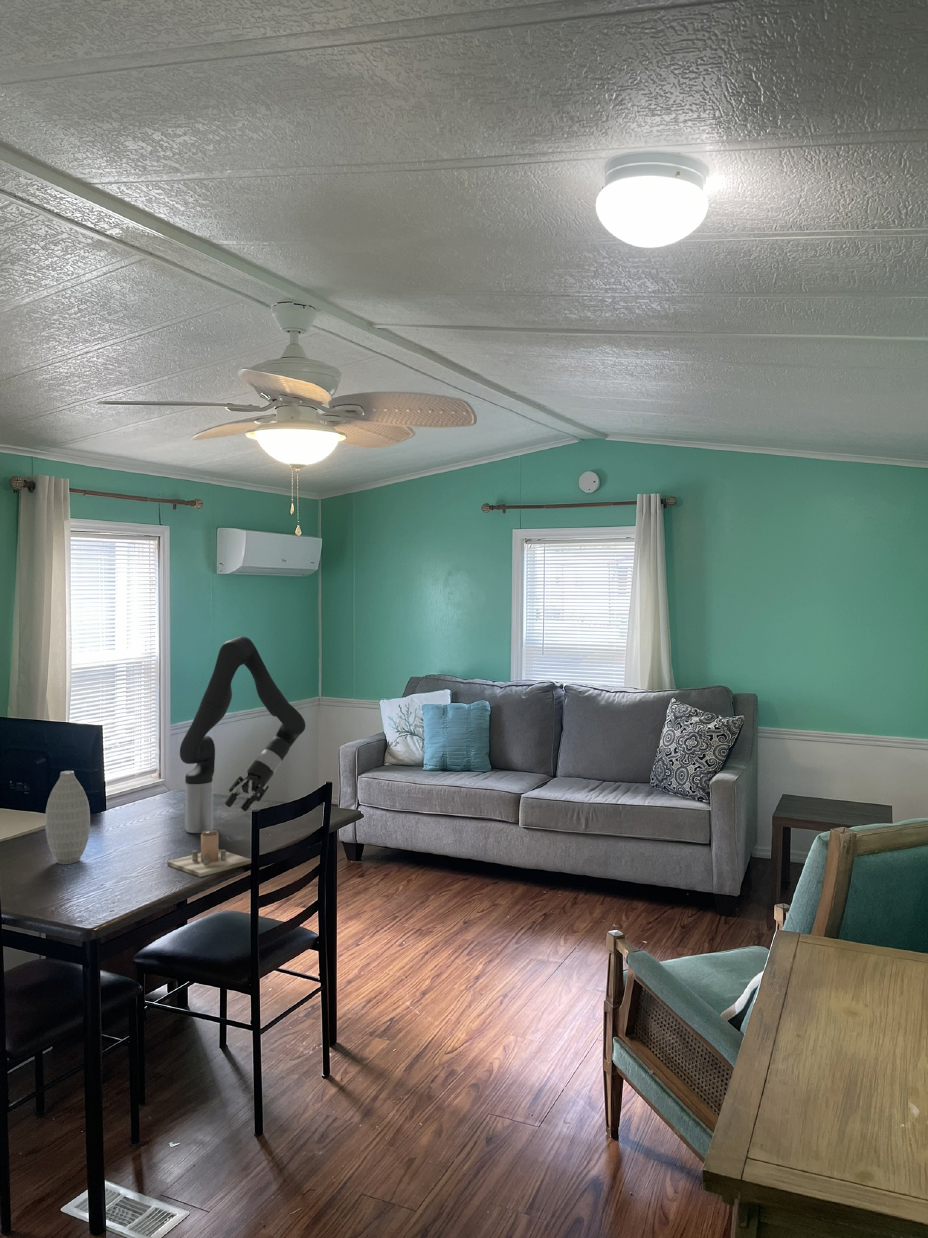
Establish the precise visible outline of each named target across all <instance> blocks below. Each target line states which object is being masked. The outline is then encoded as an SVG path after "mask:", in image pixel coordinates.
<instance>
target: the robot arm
mask: <svg viewBox="0 0 928 1238" xmlns="http://www.w3.org/2000/svg"><path fill="white" fill-rule="evenodd" d="M240 666H245V667H246V668H247V669H248V671H249V672H250V674H251V676H252V678H253V681H254V685H255V688H256V693H257V695H258V698H259V699H260V702H261V703H262V704H263V705H264V707H265V709H266V710H267V711H268V713H269V714H270V715H271V716H272V717H276V718H277V720H279V721H280V722H281V724H280V726H279V728H278V729H277V731H276V732H275V734H274V736H273V737H272V738H271V739H270V741H269V742H268V743H267V745H266V746H265V747H264V749H263V750H262V751H261V752H260V753H259V754H258V755H257V757H256V758H255V760H254V761H253V762H252V764H251V765H250V767H249V768H248V769H247V771H246V773H247V776H246V777H245V778H243V777H242V776H238V777H237V779H236V780H235V781H234V783H233V784H232V785H231V787H230V788H228V792H230V795H229V796H228V798H227V799H226V801H225V802H224V804H225V805H226V807H228V808H231V807H232V806H233V804H234V803H235V801H236V800H237V798H239V797H240V796H242V795H243V796H244V795H245V794H248V797H246V799H245V800H244V802H243V803H242V805H241V806H240V809H241V810H242V812H247V811H248V810H249V809H250V807H251V806H252V805H253V803H255V802H260V801H261V799H262V798H263V797H264V795H265V794H266V792H267V790H268V789H269V785H268V783H269V781H270V780H271V778H272V777H273V776H274V774H275V773H276V771H277V770H278V768H279V767H280V765H281V764H282V762H283V760H284V759H285V757H286V755H287V754H288V753H289V751H290V749H291V747H292V745H293V744H294V742H296V740H297V739H298V738H299V737H300V735H302V733H304V732H305V730H306V726H307V725H306V721H305V719H304V717H303V715H302V714H301V713H300V712H299V710H297V709H296V708H295V707H294V706H293V705H292V704H290V703H289V702H288V701H289V700H287V698H286V697H285V696H284V694H283V693H282V692H281V690H280V689H279V687H278V686H277V685H276V683H275V681H274V680H273V678H272V676H271V674H270V673H269V671H268V668H267V666H266V665H265V663H264V661H263V658H262V657H261V655H260V653H259V651H258V649H257V647H256V645H255V644H254V642H253V641H252V640H251V639H250V638H249V637H247V636H243V635H242V636H238V637H234V638H232V639H229V640H227V641H225V642H224V643H223V644H222V645H221V647H220V649H219V650H218V655H217V657H216V662H215V665H214V669H213V671H212V674H211V677H210V679H209V682H208V684H207V686H206V689H205V691H204V694H203V696H202V698H201V700H200V703H199V707H198V709H197V712H196V714H195V716H194V719H193V720H192V722H191V724H190V727H189V728H188V730H187V732H186V734H185V736H184V738H183V739H182V741H181V744H180V745H179V746H180V747H179V756H180V760H181V761H182V763H184V764H188V765H193V764H196V765H195V767H193V769H192V770H190V771H189V772H187V773H186V775H185V779H184V781H185V782H184V783H185V803H184V830H185V831H186V832H187V833H191V834H202V832H203V831H205V830H214V803H213V802H214V794H213V792H214V790H213V785H214V784H213V783H214V782H213V780H214V779H213V777H214V774H215V766H216V765H215V764H216V763H215V762H216V746H215V742H214V740H213V738H212V737H211V736H210V735H207V734H208V732H210V731H211V730H212V729H213V728H215V727H216V725H217V724H219V722H220V721H221V720H222V719H223V718H224V717H225V715H226V713H228V712H227V711H228V709H229V707H230V704H231V702H232V698H233V692H232V691H233V690H232V681H233V679H234V676H235V675H236V672H237V671H238V668H239V667H240Z"/></svg>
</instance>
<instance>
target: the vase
mask: <svg viewBox="0 0 928 1238" xmlns="http://www.w3.org/2000/svg"><path fill="white" fill-rule="evenodd" d="M89 803H90V802H89V800H88V797H87V794H86V791H85V790H84V788H83V786H82V785H81V783H80V782H79V780H78V778H76V776H75V771H74V770H64V771H61V772H60V773H59V778H58V780H57V781H56V783H55V784H54V786H53V788H52V790H51V791H50V794H49V797H48V799H47V803H46V808H45V821H44V822H45V833H46V840H47V841H46V842H47V844H48V847H49V850H50V852H51V855H52V857H54V859H55V861H56V862H57V863H58V864H59V865H71V864H75V863H78V862H79V861H80V860H81V857H82V856H83V855H84V852H85V850H86V847H87V844H88V842H89V841H88V840H89V836H90V829H91V811H90V809H91V808H90V804H89Z"/></svg>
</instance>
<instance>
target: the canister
mask: <svg viewBox="0 0 928 1238" xmlns="http://www.w3.org/2000/svg"><path fill="white" fill-rule="evenodd" d="M218 849H219V832H218V830H216V829H213V830H205V831H203V832H202V833H200V853H201V861H202V862H204V854H209V862H214V861H217V860H218Z"/></svg>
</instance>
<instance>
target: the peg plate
mask: <svg viewBox="0 0 928 1238" xmlns="http://www.w3.org/2000/svg"><path fill="white" fill-rule="evenodd" d="M249 864H252V858H247V857H245V856H241V855H238V854H235V853H232V852H229V851H227V850H226V849H219V848H218V860H217V861H214V862H209V854H204V862H202V861H201V852H200V853H199V850H197V849H195V850H192V851H191V854H190V855H187V856H182V857H180V858H175V859H171V860H167V861H166V865H167V866H169V867H172V868H174V869H177V870H180V871H183V872H185V873H188V874H191V875H194V876H197V877H200V878H201V877H205V876H208V875H212V874H216V873H220V872H224V871H227V870H232V869H235V868H238V867H242V866H243V867H244V866H247V865H249Z"/></svg>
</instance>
